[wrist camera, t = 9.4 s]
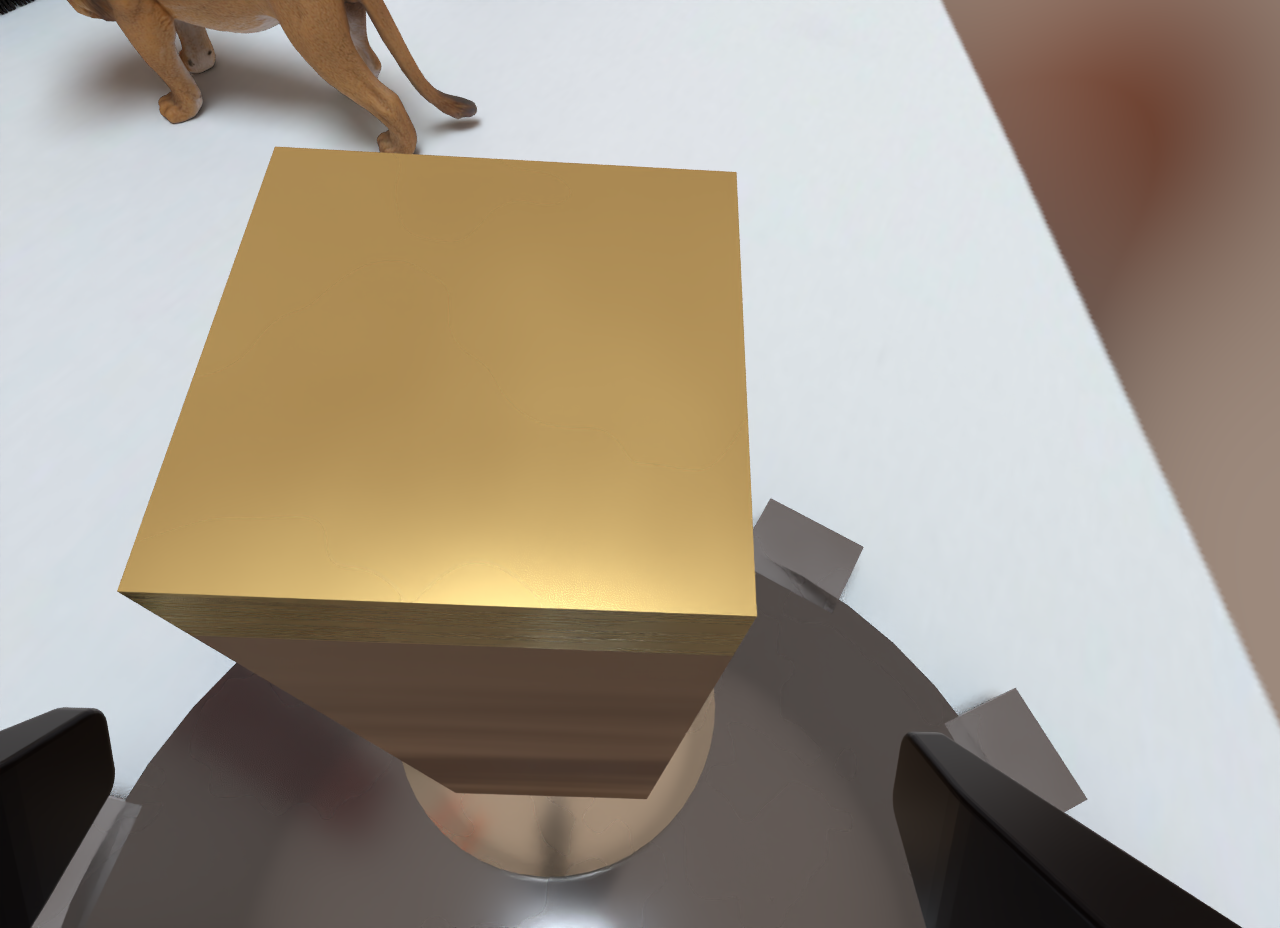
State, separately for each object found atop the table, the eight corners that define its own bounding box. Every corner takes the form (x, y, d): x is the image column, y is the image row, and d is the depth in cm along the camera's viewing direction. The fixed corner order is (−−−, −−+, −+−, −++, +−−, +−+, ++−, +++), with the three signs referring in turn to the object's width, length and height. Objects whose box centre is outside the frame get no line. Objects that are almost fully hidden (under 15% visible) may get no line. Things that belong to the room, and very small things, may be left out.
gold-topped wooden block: (646, 799, 16) (756, 616, 5) (455, 793, 16) (118, 592, 5) (650, 614, 18) (735, 172, 7) (479, 608, 18) (274, 147, 7)
